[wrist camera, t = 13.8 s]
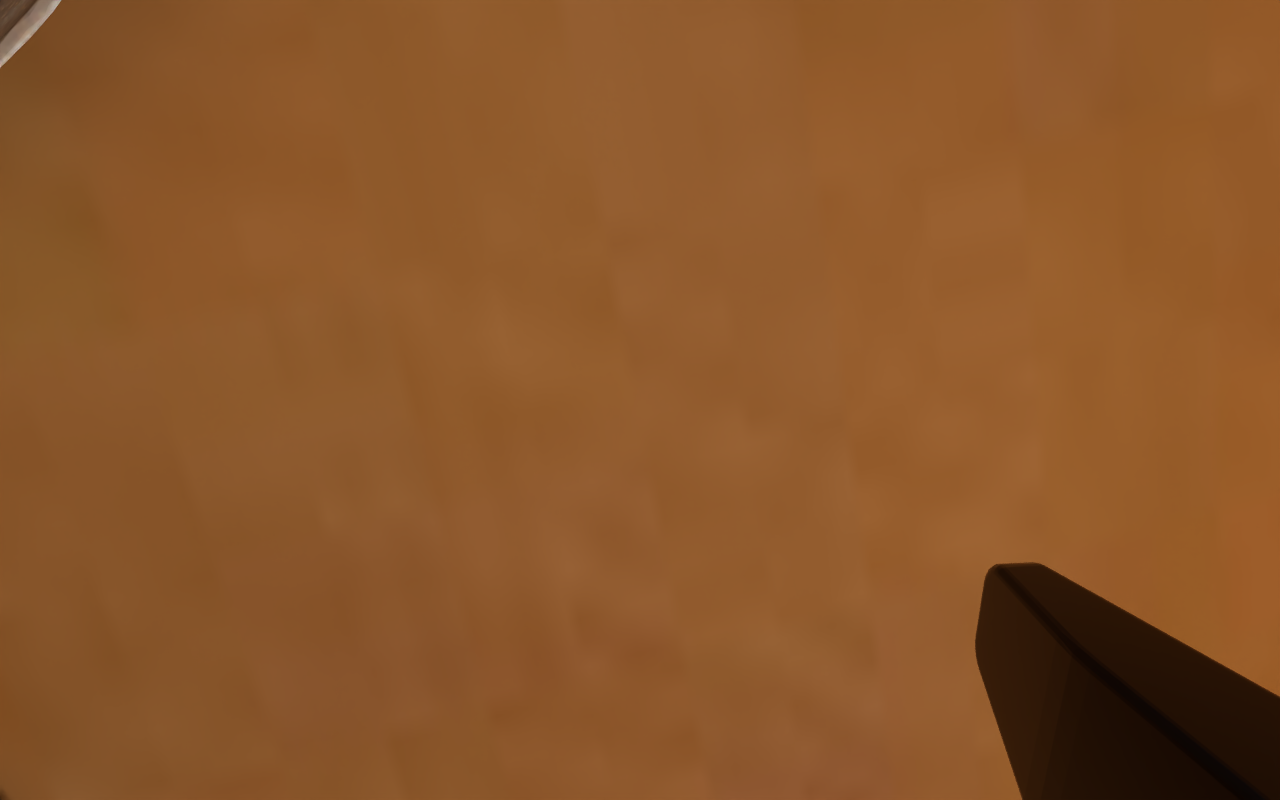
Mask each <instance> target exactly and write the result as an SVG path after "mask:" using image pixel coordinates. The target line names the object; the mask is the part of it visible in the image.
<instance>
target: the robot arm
mask: <svg viewBox="0 0 1280 800" xmlns="http://www.w3.org/2000/svg"><path fill="white" fill-rule="evenodd" d="M975 650H976V658H977V663H978V667H979V670H980V673H981V676H982V679H983V682H984V685H985V688H986V691H987V694H988V697H989V700H990V703H991V706H992V709H993V712H994V715H995V718H996V721H997V724H998V727H999V730H1000V733H1001V736H1002V739H1003V742H1004V745H1005V749H1006V752H1007V755H1008V758H1009V761H1010V764H1011V767H1012V770H1013V773H1014V776H1015V779H1016V782H1017V785H1018V788H1019V791H1020V794H1021V797H1022V800H1280V697H1279V696H1277V695H1276V694H1274V693H1272V692H1270V691H1268V690H1267V689H1265V688H1263V687H1261V686H1259V685H1258V684H1256V683H1254V682H1252V681H1250V680H1249V679H1247V678H1245V677H1243V676H1242V675H1240V674H1238V673H1236V672H1234V671H1233V670H1231V669H1229V668H1227V667H1225V666H1224V665H1222V664H1220V663H1218V662H1216V661H1215V660H1213V659H1211V658H1209V657H1207V656H1206V655H1204V654H1202V653H1200V652H1199V651H1197V650H1195V649H1193V648H1191V647H1190V646H1188V645H1186V644H1184V643H1182V642H1181V641H1179V640H1177V639H1175V638H1173V637H1172V636H1170V635H1168V634H1166V633H1164V632H1163V631H1161V630H1159V629H1157V628H1155V627H1154V626H1152V625H1150V624H1148V623H1147V622H1145V621H1143V620H1141V619H1139V618H1138V617H1136V616H1134V615H1132V614H1130V613H1129V612H1127V611H1125V610H1123V609H1121V608H1120V607H1118V606H1116V605H1114V604H1112V603H1111V602H1109V601H1107V600H1105V599H1103V598H1102V597H1100V596H1098V595H1096V594H1095V593H1093V592H1091V591H1089V590H1087V589H1086V588H1084V587H1082V586H1080V585H1078V584H1077V583H1075V582H1073V581H1071V580H1069V579H1068V578H1066V577H1064V576H1062V575H1060V574H1059V573H1057V572H1055V571H1053V570H1052V569H1050V568H1048V567H1046V566H1044V565H1042V564H1039V563H1033V562H1032V563H1009V564H996V565H994V566H993V567H991V568H990V569H989V570H988V572H987V574H986V577H985V581H984V587H983V593H982V600H981V606H980V612H979V619H978V625H977V632H976V639H975Z"/></svg>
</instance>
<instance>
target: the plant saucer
mask: <svg viewBox="0 0 1280 800" xmlns="http://www.w3.org/2000/svg"><path fill="white" fill-rule="evenodd" d="M60 1H61V0H0V68H1V67H2V66H3V65H4V64H5V63H6V62H7V61H8V60H9V59H10V58H11V57H12V56H13V55H14V54H15V53H16V52H17V51H18V50H19V49H20V48H21V47H22V46H23V45H24V44H25V43H26V42H27V41H28V40H29V39H30V38H31V37H32V35H33V34H34V33H35V32H36V31H37V30H38V28H39V27H40V26H41V25H42V24H43V23H44V22H45V20H46V19H47V18H48V17H49V16H50V15H51V13H52V12H53V11H54V10H55V8H56V7H57V5H58V4H59V3H60Z"/></svg>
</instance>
